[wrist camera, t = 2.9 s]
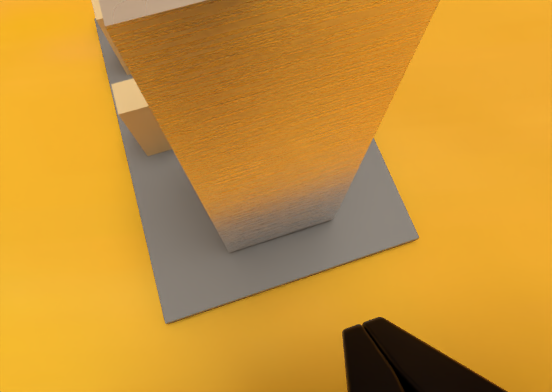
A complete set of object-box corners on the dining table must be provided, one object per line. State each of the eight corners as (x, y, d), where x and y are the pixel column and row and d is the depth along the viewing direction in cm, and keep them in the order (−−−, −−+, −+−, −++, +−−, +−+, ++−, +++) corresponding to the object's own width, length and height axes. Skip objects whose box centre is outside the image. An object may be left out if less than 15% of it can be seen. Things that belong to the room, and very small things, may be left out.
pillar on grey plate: (333, 218, 19) (473, -69, 5) (226, 253, 18) (92, 29, 5) (297, 126, 20) (338, -269, 7) (197, 156, 20) (38, -211, 7)
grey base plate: (415, 239, 19) (455, 212, 15) (168, 323, 18) (135, 319, 14) (294, -26, 25) (298, -101, 20) (98, 25, 23) (58, -45, 19)
